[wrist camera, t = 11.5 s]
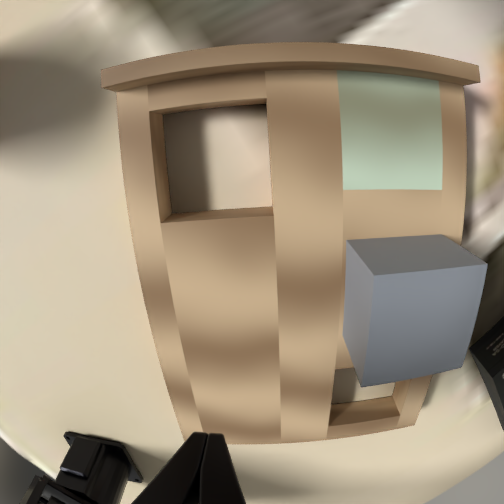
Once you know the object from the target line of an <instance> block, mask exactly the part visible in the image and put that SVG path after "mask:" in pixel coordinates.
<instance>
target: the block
mask: <svg viewBox="0 0 504 504" xmlns="http://www.w3.org/2000/svg"><path fill="white" fill-rule="evenodd" d="M487 265H488V264H487V263H486V262H484V261H483V260H481V259H480V258H478V257H477V256H475V255H474V254H472V253H471V252H469V251H468V250H466V249H464V248H463V247H461V246H460V245H458V244H457V243H455V242H453V241H452V240H450V239H448V238H447V237H445V236H444V235H442V234H437V235H420V236H403V237H386V238H369V239H353V240H346V275H345V300H344V319H343V334H342V335H343V338H344V341H345V343H346V346H347V349H348V352H349V354H350V357H351V360H352V363H353V366H354V368H355V371H356V374H357V377H358V380H359V383H360V386H361V387H367V386H373V385H380V384H386V383H392V382H397V381H403V380H408V379H413V378H418V377H423V376H427V375H432V374H436V373H441V372H445V371H449V370H453V369H457V368H461V367H462V365H463V362H464V359H465V356H466V353H467V350H468V346H469V343H470V340H471V336H472V332H473V329H474V325H475V321H476V317H477V313H478V309H479V305H480V301H481V296H482V291H483V287H484V282H485V276H486V271H487Z"/></svg>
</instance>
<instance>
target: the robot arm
mask: <svg viewBox="0 0 504 504" xmlns="http://www.w3.org/2000/svg"><path fill="white" fill-rule="evenodd" d="M64 438H65V439H66V441H67V442H68V444H69V445H70V448H69V450H68V452H67V454H66V456H65V458H64V460H63V462H62V464H61V466H60V469H61V470H60V472H59V474H58V476H57V478H56V480H55V482H54V481H52V480H51V479H50V478H49V477H47V476H46V475H44V476H43V478H42V477H39V476H35V477H34V479H33V481H32V483H31V485H30V487H29V489H28V490H27V492H26V493H25V495H24V497H23V499H22V500H21V502H20V503H19V504H120V502H121V499H122V496H123V493H124V490H125V487H126V484H127V481H132V482H138V483H142V480H143V478H142V476H141V474H140V473H139V471H138V470H137V468H136V466H135V465H134V463H133V461H132V459H131V458H130V456H129V454H128V452H127V451H126V449H125V447H124V446H123V445H122V444H120V443H117V442H111V441H106V440H101V439H96V438H91V437H87V436H82V435H78V434H74V433H70V432H65V434H64ZM42 494H43V495H44V496H46V497H48V498H49V501H48V500H46V499H44V498H43V497H41V496H42ZM131 504H246V502H245V499H244V496H243V493H242V490H241V487H240V484H239V481H238V478H237V475H236V472H235V469H234V466H233V463H232V460H231V457H230V454H229V450H228V447H227V444H226V441H225V437H224V435H223V434H222V433H209V434H208V433H206V432H193V433H192V434H191V435H190V436H189V437H188V439H187V440H186V441H185V442H184V443H183V445H182V446H181V447H180V448H179V449H178V451H177V452H176V453H175V454H174V455H173V457H172V458H171V459H170V460H169V461H168V463H167V464H166V465H165V466H164V467H163V468H162V470H161V471H160V472H159V473H158V474H157V475H156V476H155V478H154V479H153V480H152V481H151V482H150V483H149V484H148V486H147V487H146V488H145V489H144V490H143V491H142V492H141V493H140V495H139V496H138V497H137V498H136V499H135V500H134V501H133V502H132V503H131Z"/></svg>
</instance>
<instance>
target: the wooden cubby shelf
mask: <svg viewBox="0 0 504 504" xmlns="http://www.w3.org/2000/svg"><path fill="white" fill-rule="evenodd" d="M474 83H480V73H479V66H477V65H474V64H470V63H466V62H462V61H458V60H454V59H449V58H445V57H440V56H435V55H430V54H425V53H420V52H414V51H407V50H401V49H394V48H386V47H377V46H368V45H356V44H342V43H319V42H281V43H257V44H243V45H231V46H221V47H213V48H205V49H197V50H190V51H184V52H178V53H172V54H167V55H161V56H156V57H151V58H147V59H142V60H138V61H133V62H129V63H125V64H121V65H117V66H113V67H110V68H106V69H102V70H101V88H104V89H108V90H111V91H115V92H117V111H118V126H119V139H120V150H121V160H122V169H123V178H124V186H125V194H126V201H127V208H128V215H129V222H130V228H131V234H132V240H133V246H134V251H135V257H136V262H137V267H138V272H139V277H140V282H141V287H142V292H143V296H144V301H145V305H146V310H147V314H148V318H149V323H150V327H151V331H152V335H153V339H154V343H155V346H156V350H157V354H158V358H159V361H160V365H161V368H162V372H163V375H164V379H165V382H166V386H167V389H168V392H169V396H170V399H171V402H172V405H173V408H174V411H175V414H176V417H177V420H178V423H179V426H180V429H181V432H182V435H183V438H184V441H186V440H187V439H188V437H189V436H190V435H191V434H192V433H193V432H206V433H208V434H209V433H222V434H223V435H224V437H225V441H226V444H279V443H296V442H309V441H320V440H330V439H338V438H346V437H353V436H360V435H366V434H372V433H378V432H383V431H389V430H394V429H399V428H403V427H408V426H412V425H415V422H416V420H417V417H418V415H419V412H420V409H421V407H422V404H423V401H424V399H425V396H426V393H427V390H428V387H429V384H430V381H431V378H432V375H433V374H432V375H427V376H423V377H418V378H413V379H408V380H403V381H397V382H396V384H395V388H394V391H393V395H392V396H390V397H384V398H378V399H372V400H365V401H358V402H350V403H342V404H333V405H331V400H332V392H333V383H334V374H335V369H343V368H353V367H354V366H353V363H352V360H351V357H350V354H349V352H348V349H347V346H346V343H345V341H344V338H343V335H342V334H343V319H344V300H345V275H346V240H353V239H369V238H386V237H403V236H420V235H437V234H442V235H444V236H445V237H447V238H448V239H450V240H452V241H453V242H455V243H457V244H458V245H460V246H461V241H462V232H463V223H464V211H465V197H466V174H467V135H466V113H465V99H464V88H463V86H464V85H469V84H474ZM253 104H266V107H267V122H268V137H269V153H270V169H271V186H272V205H273V207H258V208H241V209H225V210H211V211H197V212H184V213H172V208H171V200H170V191H169V182H168V172H167V162H166V151H165V140H164V127H163V114H169V113H176V112H183V111H191V110H199V109H207V108H217V107H227V106H239V105H253Z"/></svg>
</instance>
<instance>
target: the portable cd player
mask: <svg viewBox="0 0 504 504" xmlns="http://www.w3.org/2000/svg"><path fill="white" fill-rule="evenodd" d="M469 350H470V352H471V354H472V356H473V358H474V360H475V362H476V365H477V367H478V369H479V371H480V374H481V376H482V378H483V380H484V383H485V385H486V387H487V390H488V392H489V395H490V397H491V400H492V402H493V405H494V407H495V410H496V412H497V415H498V418H499V421H500V423H501V426H502V429H503V430H504V317H503V318H502V319H501V320H500V321H499V322H498V323H497V324H496V325H495V326H494V327H493V328H492V329H491V330H489V331H488V332H487V333H486V334H485V335H484V336H483V337H482V338H481V339H480V340H478V341H477V342H476V343H475V344H474V345H473V346H472V347H470V348H469Z"/></svg>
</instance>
